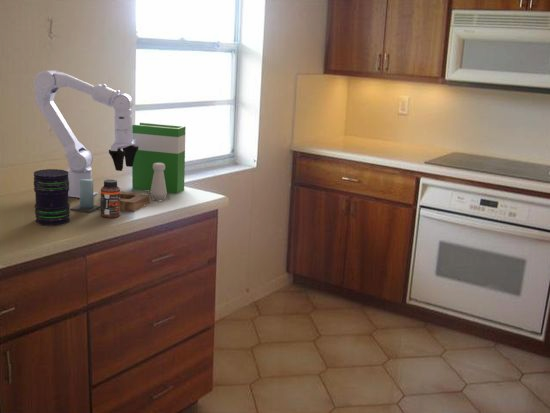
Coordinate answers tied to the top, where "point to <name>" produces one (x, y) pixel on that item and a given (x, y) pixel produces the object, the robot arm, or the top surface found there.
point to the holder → (132, 201)
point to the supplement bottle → (110, 199)
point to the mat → (77, 208)
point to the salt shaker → (158, 182)
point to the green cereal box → (159, 155)
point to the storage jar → (51, 197)
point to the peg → (86, 193)
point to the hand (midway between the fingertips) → (124, 168)
